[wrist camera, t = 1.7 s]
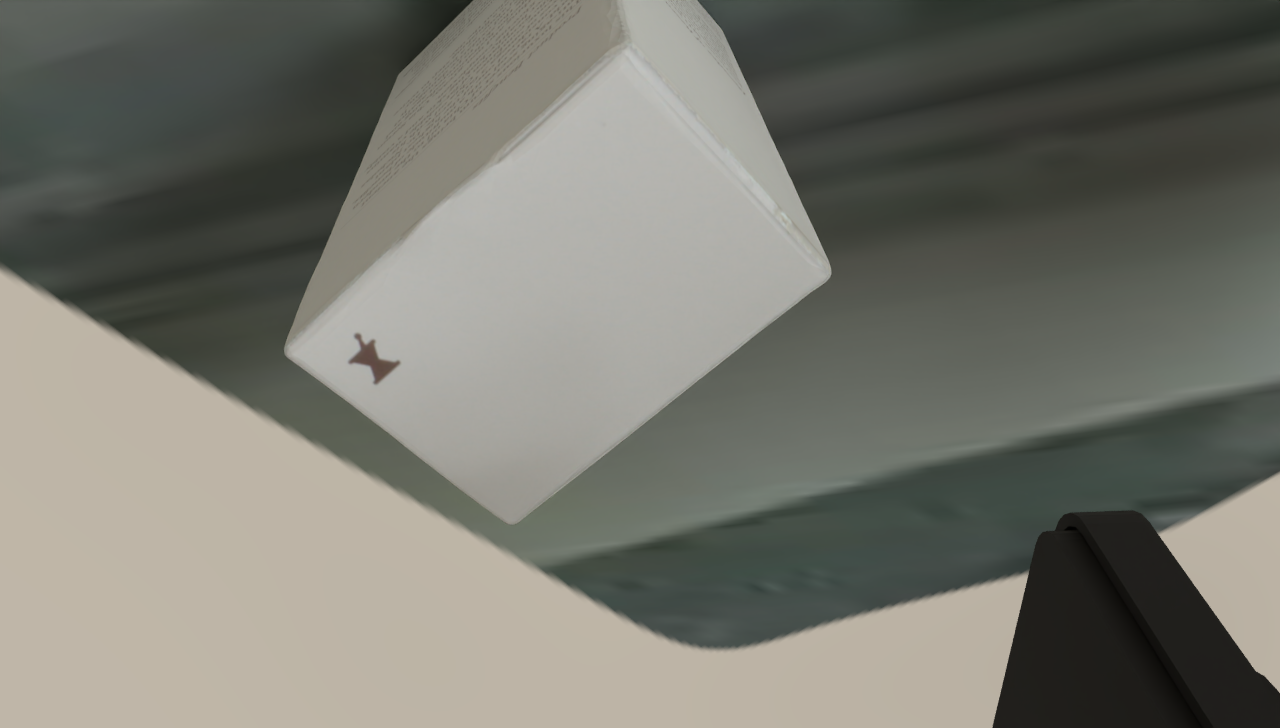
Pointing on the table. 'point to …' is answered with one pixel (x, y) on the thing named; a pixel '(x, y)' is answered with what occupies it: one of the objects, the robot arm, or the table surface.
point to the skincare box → (553, 240)
